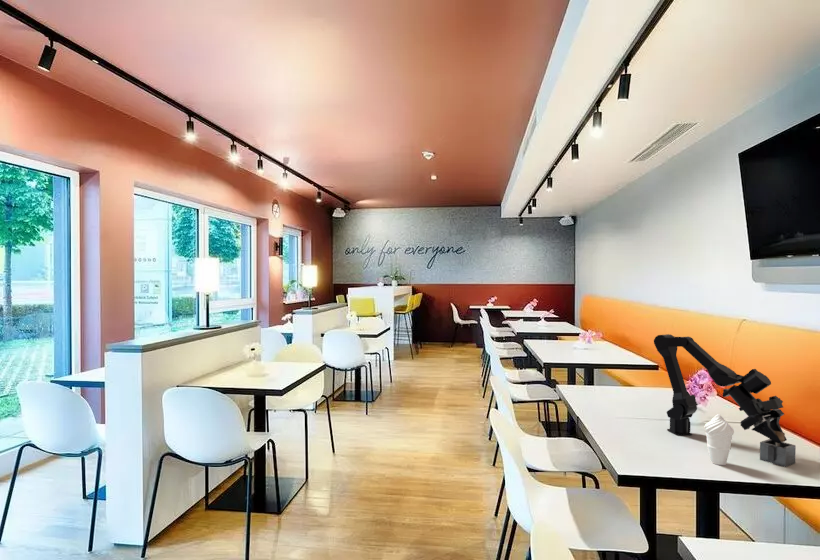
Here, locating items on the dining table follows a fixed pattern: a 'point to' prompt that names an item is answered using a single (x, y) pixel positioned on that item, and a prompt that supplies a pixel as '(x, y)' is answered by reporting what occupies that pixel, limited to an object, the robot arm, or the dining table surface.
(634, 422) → the dining table surface
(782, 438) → the plunger
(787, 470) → the dining table surface
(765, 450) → the box
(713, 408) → the dining table surface
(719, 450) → the soft serve ice cream cone
